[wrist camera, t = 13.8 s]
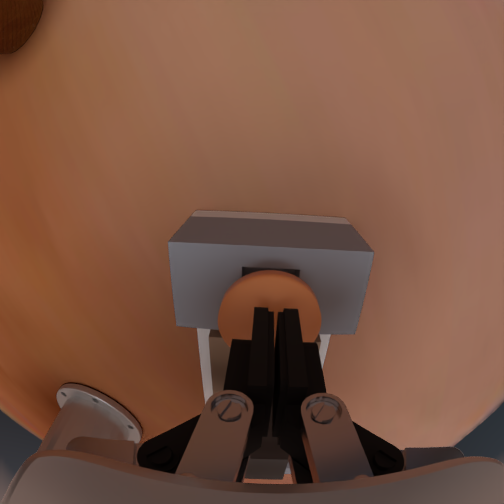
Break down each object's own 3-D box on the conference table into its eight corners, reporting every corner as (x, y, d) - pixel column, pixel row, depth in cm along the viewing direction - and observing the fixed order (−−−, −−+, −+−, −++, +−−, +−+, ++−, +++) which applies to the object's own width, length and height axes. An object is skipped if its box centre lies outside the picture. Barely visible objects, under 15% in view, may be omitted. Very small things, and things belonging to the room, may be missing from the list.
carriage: (301, 397, 22) (308, 491, 14) (217, 393, 23) (201, 486, 14) (317, 323, 19) (339, 434, 11) (213, 318, 19) (184, 428, 11)
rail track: (291, 458, 31) (292, 495, 26) (215, 454, 32) (209, 491, 26) (345, 217, 19) (374, 252, 13) (196, 210, 19) (167, 241, 14)
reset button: (307, 332, 15) (313, 363, 13) (225, 328, 15) (219, 359, 13) (319, 257, 13) (329, 281, 11) (224, 252, 14) (216, 276, 11)
